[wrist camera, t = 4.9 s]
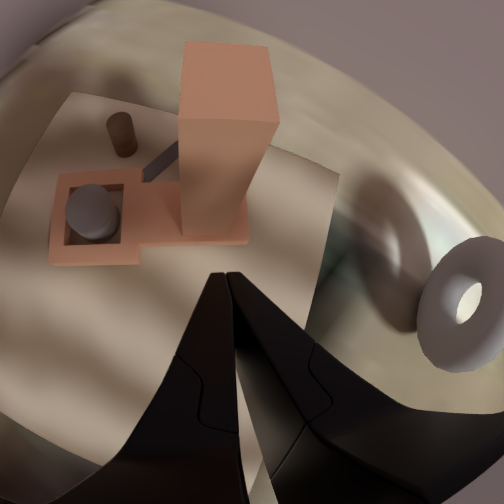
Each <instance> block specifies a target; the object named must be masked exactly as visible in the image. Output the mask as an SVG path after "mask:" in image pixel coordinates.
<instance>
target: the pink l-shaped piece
mask: <svg viewBox="0 0 504 504" xmlns="http://www.w3.org/2000/svg"><path fill="white" fill-rule="evenodd" d="M279 124H280V120H279V113H278V107H277V100H276V94H275V88H274V81H273V75H272V70H271V64H270V58H269V52H268V47H261V46H252V45H242V44H229V43H209V42H185V51H184V59H183V68H182V78H181V89H180V100H179V113H178V146H179V178H180V182H146V183H143V180H144V174H143V170H142V168H125V169H109V170H95V171H84V172H73V173H63V174H58V180H57V186H56V192H55V198H54V205H53V213H52V221H51V231H50V242H49V257H48V264H51V265H53V266H96V265H139V264H141V247H168V246H207V245H247V243H248V242H249V241H250V235H249V221H248V207H247V193H246V192H247V190H248V188H249V186H250V184H251V181H252V179H253V177H254V175H255V173H256V171H257V169H258V167H259V165H260V163H261V160H262V158H263V156H264V154H265V152H266V150H267V148H268V146H269V144H270V142H271V140H272V138H273V136H274V134H275V132H276V130H277V128H278V126H279ZM86 184H98V185H100V186H102V187H104V188H105V189H106V190H107V191H123V190H124V192H123V206H122V222H121V244H95V245H70V235H71V226H70V225H69V224H68V222H67V220H66V216H65V207H66V203H67V201H68V199H69V197H70V196H71V194H72V193H73V192H74V191H75V190H76V189H77V188H79V187H81V186H83V185H86Z"/></svg>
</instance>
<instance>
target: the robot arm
mask: <svg viewBox="0 0 504 504" xmlns="http://www.w3.org/2000/svg"><path fill="white" fill-rule="evenodd" d="M315 342H316V341H315V340H314V339H313V338H312V337H311V336H310V335H309V334H308V333H306V332H305V331H304V330H303V329H302V328H301V327H300V326H299V325H298V324H297V323H295V322H294V321H293V320H292V319H291V318H290V317H289V316H288V315H287V314H286V313H284V312H283V311H282V310H281V309H280V308H279V307H278V306H277V305H276V304H275V303H274V302H273V301H271V300H270V299H269V298H268V297H267V296H266V295H265V294H264V293H263V292H262V291H261V290H260V289H258V288H257V287H256V286H255V285H254V284H253V283H252V282H251V281H250V280H249V279H248V278H247V277H246V276H244V275H243V274H242V273H241V272H239V271H237V272H227V273H226V274H225V273H224V272H212V273H210V275H209V277H208V279H207V281H206V283H205V286H204V288H203V290H202V292H201V295H200V297H199V299H198V301H197V304H196V306H195V308H194V310H193V313H192V315H191V317H190V319H189V322H188V324H187V326H186V329H185V331H184V333H183V335H182V338H181V340H180V342H179V345H178V347H177V349H176V352H175V355H174V356H173V358H172V361H171V363H170V365H169V368H168V370H167V372H166V374H165V376H164V378H163V380H162V382H161V384H160V386H159V388H158V389H157V391H156V393H155V395H154V397H153V398H152V400H151V402H150V403H149V405H148V406H147V408H146V410H145V411H144V413H143V415H142V416H141V418H140V419H139V421H138V423H137V424H136V426H135V428H134V429H133V431H132V433H131V434H130V436H129V437H128V439H127V441H126V442H125V444H124V445H123V446H122V448H121V449H120V450H119V451H118V453H117V454H116V455H115V456H114V457H113V458H112V459H111V460H110V461H108V462H107V463H106V464H104V465H103V466H102V467H100V468H99V469H98V470H96V471H95V472H93V473H92V474H91V475H89V476H88V477H86V478H85V479H84V480H82V481H81V482H79V483H78V484H76V485H75V486H73V487H72V488H71V489H69V490H68V491H66V492H65V493H63V494H62V495H60V496H59V497H57V498H56V499H54V500H52V501H50V502H48V503H44V504H250V502H249V497H248V492H247V487H246V481H245V476H244V471H243V465H242V459H241V449H240V437H239V419H238V401H237V382H236V370H237V374H238V377H239V381H240V384H241V388H242V391H243V395H244V398H245V401H246V405H247V408H248V411H249V415H250V418H251V421H252V425H253V428H254V431H255V434H256V437H257V441H258V444H259V447H260V450H261V453H262V456H263V459H264V462H265V465H266V468H267V471H268V474H269V477H270V479H271V483H272V486H273V489H274V492H275V495H276V498H277V501H278V504H504V411H503V412H500V413H495V414H463V413H447V412H435V411H425V410H417V409H413V408H410V407H407V406H404V405H402V404H400V403H398V402H397V401H395V400H393V399H392V398H390V397H389V396H387V395H386V394H384V393H383V392H381V391H380V390H379V389H377V388H376V387H374V386H373V385H371V384H370V383H368V382H367V381H366V380H364V379H363V378H361V377H360V376H358V375H357V374H356V373H354V372H353V371H352V370H350V369H349V368H348V367H346V366H345V365H344V364H342V363H341V362H340V361H338V360H337V359H336V358H335V357H334V356H333V355H331V354H330V353H329V352H328V351H327V350H326V349H324V348H323V347H322V346H321V345H320V344H319V343H318V342H316V343H315ZM0 504H20V503H17V502H14V501H12V500H9V499H6V498H4V497H1V496H0Z"/></svg>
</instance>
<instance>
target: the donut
mask: <svg viewBox="0 0 504 504" xmlns="http://www.w3.org/2000/svg"><path fill="white" fill-rule="evenodd" d="M476 283H481V285H482V296H481V299H480V303H479V305H478V307H477V309H476V311H475V312H474V314H473V315H472V316H471V317H470V318H469V319H468V320H467V321H465V322H464V323H462V324H458V323H457V320H456V313H457V308H458V304H459V302H460V300H461V298H462V296H463V294H464V293H465V292H466V291H467V289H468V288H470V287H471V286H472V285H473V284H476ZM417 337H418V340H419V343H420V345H421V348H422V351H423V353H424V355H425V356H426V357H427V358H428V359H429V360H430V361H431V363H432V364H433V365H434V366H436V367H437V368H440V369H443V370H445V371H448V372H451V373H460V372H468V371H473V370H475V369H477V368H479V367H481V366H483V365H485V364H486V363H488V362H490V361H492V360H493V359H494V358H495V357H496V356H497V355H498V354H499V353H500V352H501V351H502V350H503V349H504V242H503V241H501V240H498V239H495V238H491V237H488V236H481V237H475V238H469V239H467V240H466V241H464V242H462V243H460V244H458V245H456V246H455V247H453V248H452V249H451V250H450V251H449V252H448V253H447V254H446V255H445V256H444V257H443V258H442V259H441V260H440V262H439V263H438V264H437V266H436V267H435V268H434V270H433V271H432V273H431V275H430V277H429V279H428V281H427V282H426V284H425V286H424V289H423V292H422V295H421V298H420V301H419V307H418V313H417Z"/></svg>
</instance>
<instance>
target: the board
mask: <svg viewBox="0 0 504 504" xmlns="http://www.w3.org/2000/svg"><path fill="white" fill-rule="evenodd" d="M125 168H142V170H143V174H144V180H143V183H146V182H180V178H179V146H178V115H176V114H172V113H168V112H165V111H161V110H157V109H153V108H149V107H145V106H141V105H137V104H133V103H129V102H124V101H120V100H115V99H110V98H105V97H101V96H95V95H90V94H85V93H79V92H73V91H72V92H71V94H70V95H69V96H68V98H67V99H66V100H65V102H64V103H63V105H62V106H61V107H60V109H59V110H58V112H57V113H56V115H55V116H54V118H53V119H52V121H51V122H50V124H49V125H48V127H47V128H46V130H45V131H44V133H43V135H42V136H41V138H40V140H39V141H38V143H37V145H36V146H35V148H34V150H33V151H32V153H31V155H30V157H29V159H28V160H27V162H26V164H25V166H24V168H23V170H22V172H21V174H20V175H19V177H18V179H17V181H16V183H15V186H14V188H13V190H12V192H11V194H10V196H9V198H8V200H7V203H6V205H5V207H4V210H3V212H2V214H1V217H0V411H1V412H2V413H4V414H5V415H7V416H8V417H10V418H11V419H13V420H14V421H16V422H17V423H19V424H21V425H22V426H24V427H25V428H27V429H29V430H30V431H32V432H34V433H36V434H37V435H39V436H41V437H43V438H44V439H46V440H48V441H50V442H52V443H54V444H56V445H58V446H59V447H61V448H63V449H65V450H67V451H70V452H72V453H74V454H76V455H78V456H80V457H82V458H85V459H87V460H89V461H91V462H94V463H96V464H99V465H101V466H103V465H104V464H106V463H107V462H108V461H110V460H111V459H112V458H113V457H114V456H115V455H116V454H117V453H118V451H119V450H120V449H121V448H122V446H123V445H124V444H125V442H126V441H127V439H128V437H129V436H130V434H131V433H132V431H133V429H134V428H135V426H136V424H137V423H138V421H139V419H140V418H141V416H142V415H143V413H144V411H145V410H146V408H147V406H148V405H149V403H150V402H151V400H152V398H153V397H154V395H155V393H156V391H157V389H158V388H159V386H160V384H161V382H162V380H163V378H164V376H165V374H166V372H167V370H168V368H169V365H170V363H171V361H172V358H173V356H174V355H175V352H176V349H177V347H178V345H179V342H180V340H181V338H182V335H183V333H184V331H185V329H186V326H187V324H188V322H189V319H190V317H191V315H192V313H193V310H194V308H195V306H196V304H197V301H198V299H199V297H200V295H201V292H202V290H203V288H204V286H205V283H206V281H207V279H208V277H209V275H210V273H212V272H224V273H225V274H226V273H227V272H237V271H239V272H241V273H242V274H243V275H244V276H246V277H247V278H248V279H249V280H250V281H251V282H252V283H253V284H254V285H255V286H256V287H257V288H258V289H260V290H261V291H262V292H263V293H264V294H265V295H266V296H267V297H268V298H269V299H270V300H271V301H273V302H274V303H275V304H276V305H277V306H278V307H279V308H280V309H281V310H282V311H283V312H284V313H286V314H287V315H288V316H289V317H290V318H291V319H292V320H293V321H294V322H295V323H297V324H298V325H299V326H300V327H301V328H302V329H303V330H304V328H305V325H306V321H307V317H308V314H309V310H310V306H311V302H312V298H313V294H314V290H315V286H316V282H317V278H318V274H319V270H320V266H321V262H322V257H323V253H324V249H325V244H326V240H327V235H328V230H329V226H330V221H331V216H332V211H333V206H334V201H335V196H336V191H337V186H338V180H339V175H340V174H339V173H336V172H334V171H332V170H330V169H327V168H325V167H323V166H320V165H318V164H316V163H313V162H311V161H308V160H306V159H304V158H301V157H299V156H296V155H294V154H291V153H289V152H286V151H284V150H281V149H278V148H276V147H273V146H270V145H269V146H268V148H267V150H266V152H265V154H264V156H263V158H262V160H261V163H260V165H259V167H258V169H257V171H256V173H255V175H254V177H253V179H252V181H251V184H250V186H249V188H248V190H247V192H246V193H247V207H248V221H249V235H250V241H249V242H248V243H247V245H207V246H168V247H141V264H139V265H96V266H53V265H51V264H48V257H49V242H50V231H51V221H52V213H53V205H54V198H55V192H56V186H57V180H58V174H63V173H73V172H84V171H95V170H109V169H125ZM123 192H124V190H123V191H107V190H106V189H105V188H104V187H102V186H100V185H98V184H86V185H83V186H81V187H79V188H77V189H76V190H75V191H74V192H73V193H72V194H71V196H70V197H69V199H68V201H67V203H66V207H65V216H66V220H67V222H68V224H69V225H70V226H71V235H70V245H95V244H121V222H122V206H123ZM236 382H237V401H238V419H239V437H240V449H241V459H242V465H243V471H244V476H245V481H246V487H247V492H248V495H249V493H250V490H251V488H252V485H253V483H254V480H255V478H256V475H257V472H258V470H259V467H260V464H261V462H262V459H263V456H262V453H261V450H260V447H259V444H258V441H257V437H256V434H255V431H254V428H253V425H252V421H251V418H250V415H249V411H248V408H247V405H246V401H245V398H244V395H243V391H242V388H241V384H240V381H239V377H238V374H237V370H236Z"/></svg>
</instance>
